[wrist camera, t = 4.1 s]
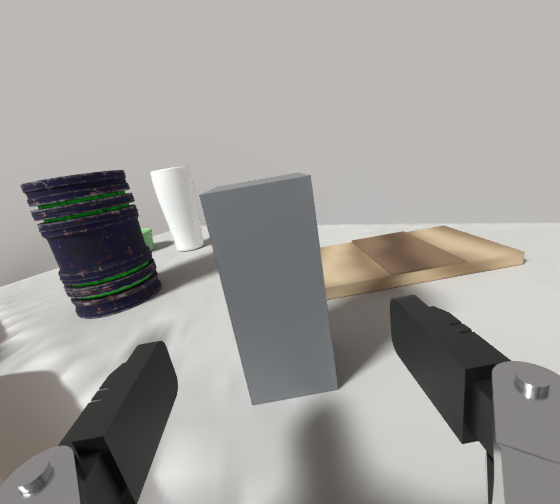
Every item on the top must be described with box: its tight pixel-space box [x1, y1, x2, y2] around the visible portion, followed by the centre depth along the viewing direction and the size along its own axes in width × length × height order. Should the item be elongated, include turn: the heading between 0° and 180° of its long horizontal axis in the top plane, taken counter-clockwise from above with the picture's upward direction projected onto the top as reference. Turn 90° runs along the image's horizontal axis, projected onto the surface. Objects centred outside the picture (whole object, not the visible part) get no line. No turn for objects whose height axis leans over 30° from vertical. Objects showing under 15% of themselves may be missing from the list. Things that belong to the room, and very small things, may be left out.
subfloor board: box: [320, 226, 524, 300], centre depth 31 cm, size 25×12×1 cm, turn 94°
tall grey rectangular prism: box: [199, 173, 338, 405], centre depth 17 cm, size 5×5×12 cm
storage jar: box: [20, 170, 161, 319], centre depth 33 cm, size 10×10×15 cm
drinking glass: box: [150, 166, 204, 251], centre depth 52 cm, size 7×7×15 cm
